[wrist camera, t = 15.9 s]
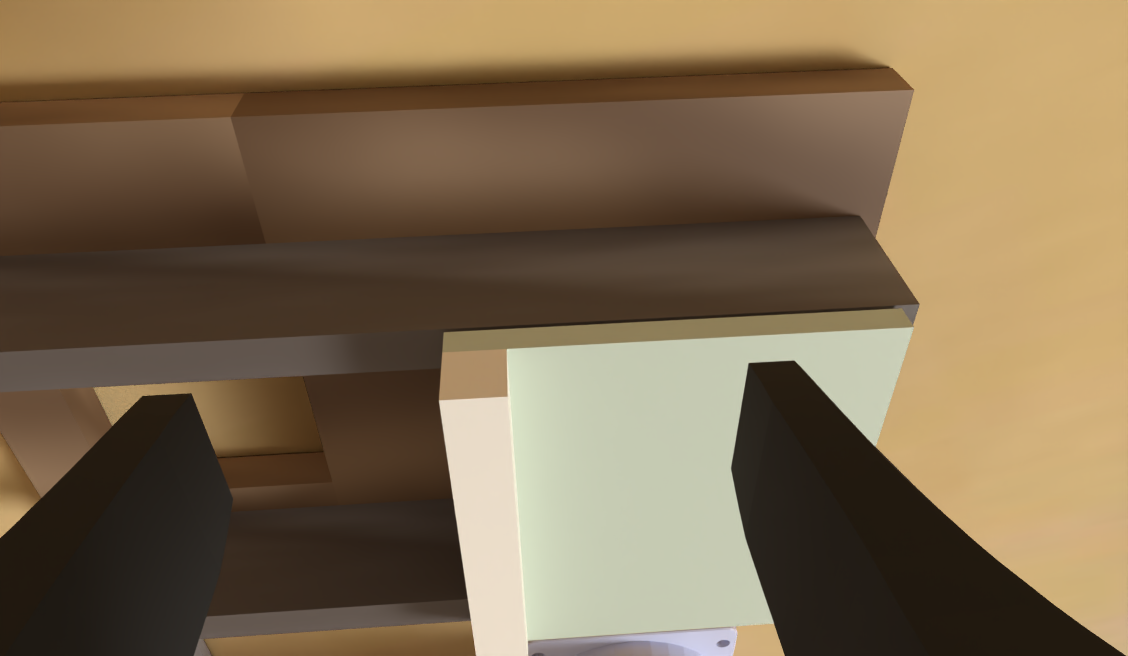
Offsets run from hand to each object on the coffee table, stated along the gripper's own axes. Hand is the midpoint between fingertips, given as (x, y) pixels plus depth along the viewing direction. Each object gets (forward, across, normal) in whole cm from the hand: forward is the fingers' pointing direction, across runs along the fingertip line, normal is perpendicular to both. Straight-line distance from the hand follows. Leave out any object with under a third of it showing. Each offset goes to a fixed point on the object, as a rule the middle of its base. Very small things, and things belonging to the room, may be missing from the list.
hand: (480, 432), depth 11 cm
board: (+9, +2, +7) cm, 12 cm away
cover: (+5, -4, +7) cm, 9 cm away
